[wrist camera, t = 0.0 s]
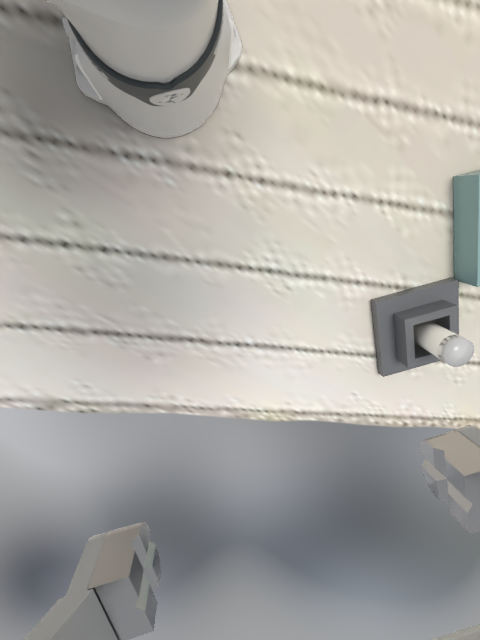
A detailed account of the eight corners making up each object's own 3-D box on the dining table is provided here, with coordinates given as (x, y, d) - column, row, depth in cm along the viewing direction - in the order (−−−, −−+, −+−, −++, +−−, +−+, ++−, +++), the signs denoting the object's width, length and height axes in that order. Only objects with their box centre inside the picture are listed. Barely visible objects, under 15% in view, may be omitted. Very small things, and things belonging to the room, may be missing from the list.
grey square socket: (370, 299, 51) (386, 308, 46) (451, 277, 51) (474, 284, 47) (378, 372, 55) (393, 386, 51) (452, 351, 56) (473, 363, 51)
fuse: (400, 318, 52) (445, 343, 43) (424, 311, 53) (474, 335, 43) (402, 341, 54) (445, 370, 44) (425, 334, 54) (473, 362, 45)
